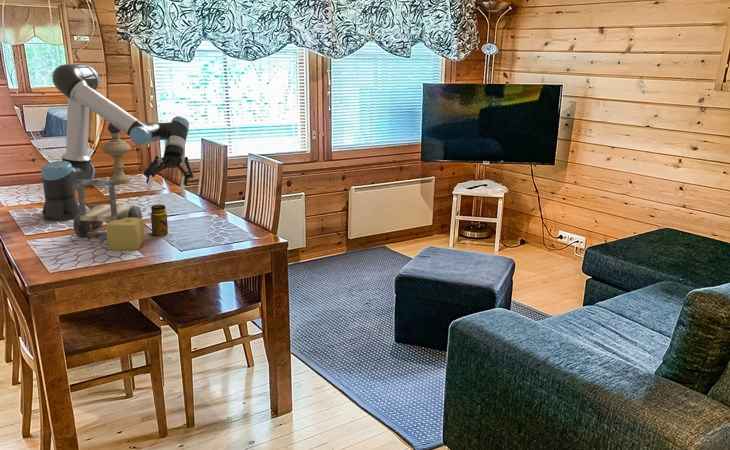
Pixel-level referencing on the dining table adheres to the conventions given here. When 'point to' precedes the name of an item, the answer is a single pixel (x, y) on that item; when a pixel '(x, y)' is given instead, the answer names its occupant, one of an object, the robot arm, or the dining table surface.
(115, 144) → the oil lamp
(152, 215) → the condiment
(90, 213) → the trolley
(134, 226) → the cheese
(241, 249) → the dining table surface
